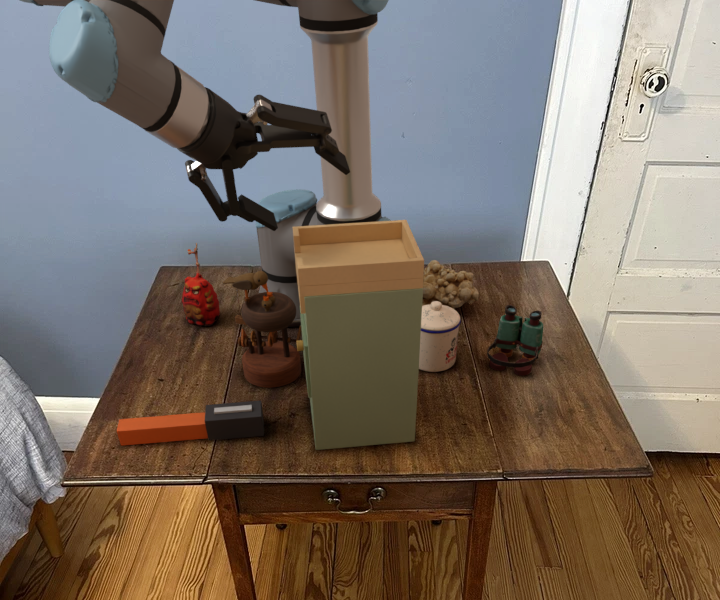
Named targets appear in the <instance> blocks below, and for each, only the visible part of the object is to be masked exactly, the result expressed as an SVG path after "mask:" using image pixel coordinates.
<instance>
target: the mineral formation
mask: <svg viewBox="0 0 720 600" xmlns="http://www.w3.org/2000/svg"><path fill="white" fill-rule="evenodd" d="M473 279H474V273H473V272H472V271H471V272H467V271H466V270H460V271H458V272H456V271H455V270H454V269H450V268H447V269H446V268H445V266H444V265H442V264H441V263H440V261H438V260H436V259H433V260H430V262H429V263H428V264H427V266H426V267H424V275H423V299H422V306H424V305H429V304H431V303H432V302H433V301H439V302H441V304H442V305H445V306H448V307H451V308H453V309H454V310H456V309H457V308H461V307H462V306H463V305H464V304H465V303H468V304H469V305H472V304H474V302H475V301H476V302H477V301H479V296H480V293H479V291H478V288H476V287H475V286H474V285H473V283H474V280H473Z"/></svg>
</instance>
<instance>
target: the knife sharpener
mask: <svg viewBox="0 0 720 600" xmlns="http://www.w3.org/2000/svg"><path fill="white" fill-rule="evenodd" d="M204 411H205V412H204ZM204 411H203V412H192V413H180V414H179V413H178V414H166V415H155V416H144V417H143V416H142V417H131V418H119V419H118V424H117V428H116V434H117V437H118V440H119V444H120V446H123V447H124V446H131V445H132V446H134V445H144V444H145V445H146V444H147V445H148V444H157V443H158V444H159V443H168V442H181V441H192V440H193V441H194V440H204V439H205V440H206V439H208V441H221V440H232V439H233V440H234V439H245V438H255V437H264V436H265V419H264V411H263V403H262V400H250V401H239V402H225V403H212V404H206V405H205V410H204Z"/></svg>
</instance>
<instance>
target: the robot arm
mask: <svg viewBox="0 0 720 600" xmlns="http://www.w3.org/2000/svg"><path fill="white" fill-rule="evenodd" d="M19 1H20V2H23V3H27V4H33V5H35V6H37V7H44V6H49V7H50V6H51V7H63V8H62V10H61V11H60V12H59V14H58V16H57V20H56V21H57V22H56V24H55V25H54V26H53V27H52V30H51V33H50V36H49V42H48V43H49V44H48V55H49V57H48V58H49V61H50V65H51V68H52V70H53V71H54V73H55V74H56V75H57V77H59V78H60V79H61V80H62V81H63V82H65V83H66V84H68V85H69V86H70V87H72V88H73V89H74V90H76V91H77V92H79V93H80V94H82V95H83V96H84V97H86V98H87V99H88V100H90V101H91V102H93V103H97V104H99V105H101V106H102V107H104V108H106V109H108V110H110V111H112V112H113V113H115V114H117V115H118V116H120V117H121V118H124V119H125V120H127V121H129V122H130V123H133V124H134V125H136V126H137V127H139V128H141V129H142V130H144V131H145V132H147V133H149V134H150V135H152V136H153V137H155V138H156V139H159V141H161V142H163V143H164V144H166V145H168V146H170V147H171V148H174V149H177V150H178V151H179V152H180V153H182V154H184V155H185V156H187V157H189V158H190V159H187V160H186V161H184V166H185V170H186V174H187V178H188V181H189V182H190V184H193V186H195V187H197V188H198V189H199V190H200V192H201V193H202V195H203V197H204V199H205V200H206V203H208V205H209V206H210V208H211V210H212V212H213V213H214V214H215V217H216V219H218V221H220V222H221V223H222V222H227V220H228V217H230V216H232V217H239V218H240V219H242V220H245V221H246V222H248V223H254V222H255V228H256V234H257V235H256V236H257V244H258V250H259V257H260V266H261V271H263V272H265V273H266V274H267V276H268V281H267V287H268V292H279V293H282V294H285V295H287V296H288V297H290V298H291V299H292V300H293V302H294V304H295V306H296V316H295V319H294V321H293V322H292V323H291V324H290V325H289V326H288V327H287V328H295V327H298V328H299V326H301V318H300V300H299V291H298V283H297V275H296V265H295V253H294V241H293V228H292V227H297V226H313V225H329V224H345V223H362V222H378V221H392V219H390V218H388V217H387V216H383V215H382V201H381V200H380V198H379V197H378V196H377V195H376V194H374V193H373V170H372V169H373V167H372V166H373V165H372V136H371V135H372V133H371V129H372V128H371V104H370V103H371V95H370V94H371V93H370V64H369V63H370V61H369V60H370V59H369V36H370V34H371V33H372V31H373V30H374V29H375V28H376V26H377V25H378V21H379V20H378V19H379V17H378V13H380V12H382V11H384V10H385V8H386V7H387V5H388V2H389V1H390V0H254V1H256V2H261V3H265V4H266V3H267V4H271V5H277V6H281V7H290V8H297V9H298V10H297V11H298V19H299V28H300V29H301V30H302V31H303V33H304V34H305V35H306V36H307V37H308V38H309V39H310V41H311V53H312V54H311V55H312V67H313V79H314V94H315V104H316V105H315V106H316V109H313V108H307V107H302V106H296V105H292V104H287V103H282V102H276V101H273V100H271V99H269V98H267V97H266V96H264V95H262V94H256V95H255V96H254V97H253V106H252V107H251V108H250V110H249V111H248V112H241V111H238V110H237V109H236V108H235V107H233V106H232V104H231V103H229V101H227V100H225V99H224V98H223V97H222V96H220V95H219V94H217V92H214V91H213V90H211V89H210V88H208V87H207V86H206V87H205V86H204V84H202V83H201V82H200V81H199V80H197V79H196V78H194V76H192V75H190V74H189V73H188V72H186V71H184V70H183V69H182V68H181V67H179V66H178V65H176V64H175V63H174V62H173V61H172V60H170V59H169V58H167V57H166V56H165V55H164V54H162V49H163V44H164V40H165V37H166V32H167V28H168V26H169V25H168V24H169V21H170V17H171V13H172V9H173V6H174V1H175V0H19ZM258 135H260V137H261V139H260V140H259V139H258ZM292 148H313V149H314V153H315V154H316V155H318V156H319V157H320V168H321V178H322V180H321V181H322V192H323V196H322V197H320V199H319V200H318V198H317V196H316V194H315V192H313V191H312V190H308V189H288V190H283V191H278V192H275V193H272V194H269V195H267V196H265V197H263V198H262V199H261V200H259V202H256V201H254V200H253V199H251V198H249V197H247V196H245V195H244V194H242V193H241V194H240V195H239V196H238V194H237V193H238V192H237V187H236V180H235V174H234V170H237V169H239V170H241V169H243V168H244V167H245V166H246V165H247V163H248V162H249V161H250V160H252V159H255V157H256V156H258V154H259V153H268V152H269V153H270V151H271V150H272V149H292ZM207 169H208V170H221V172H222V177H223V183H224V189H225V195H226V200H225V201H223V199H222V197H221V196H220V194H219V193H218V191H217V189H216V187H215V186H214V184H213V182H212V181H211V179H210V177H209V175H208V172H207ZM263 292H267V291H266V290H265V289H264V288H263V287H262V286H260V285H259V290H258V293H263Z"/></svg>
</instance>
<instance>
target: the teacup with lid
mask: <svg viewBox="0 0 720 600" xmlns="http://www.w3.org/2000/svg"><path fill="white" fill-rule="evenodd" d="M461 319H462V318H461V315H460V314H459V312H458V311H457V310H456V309H453V308H451V307H448V306H445V305H442V304H441V302H439V301H433V302H432V303H431V304H429V305H424V306H422V318H421V336H420V354H419V371H420V370H421V371H424V372H430V373H438V372H439V373H440V372H443V371H447V370H449V369H450V368H452V367H453V366H454V365H455V364H456V360H457V351H458V350H457V349H458V341H459V340H458V339H459V331H460V325H461V323H462V320H461Z"/></svg>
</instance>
